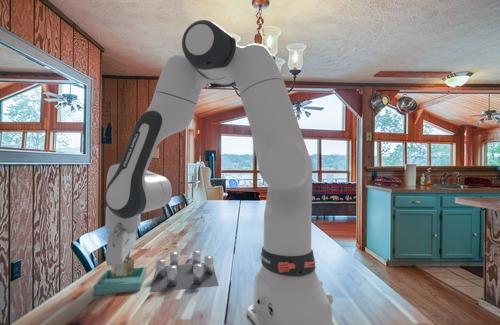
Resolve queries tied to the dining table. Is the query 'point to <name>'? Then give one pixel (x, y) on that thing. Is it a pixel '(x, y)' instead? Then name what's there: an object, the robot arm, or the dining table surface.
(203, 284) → the mat
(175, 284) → the steel spacers
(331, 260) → the dining table surface
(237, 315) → the dining table surface
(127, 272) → the brass nut
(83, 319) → the dining table surface
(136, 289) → the parts tray
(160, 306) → the dining table surface
